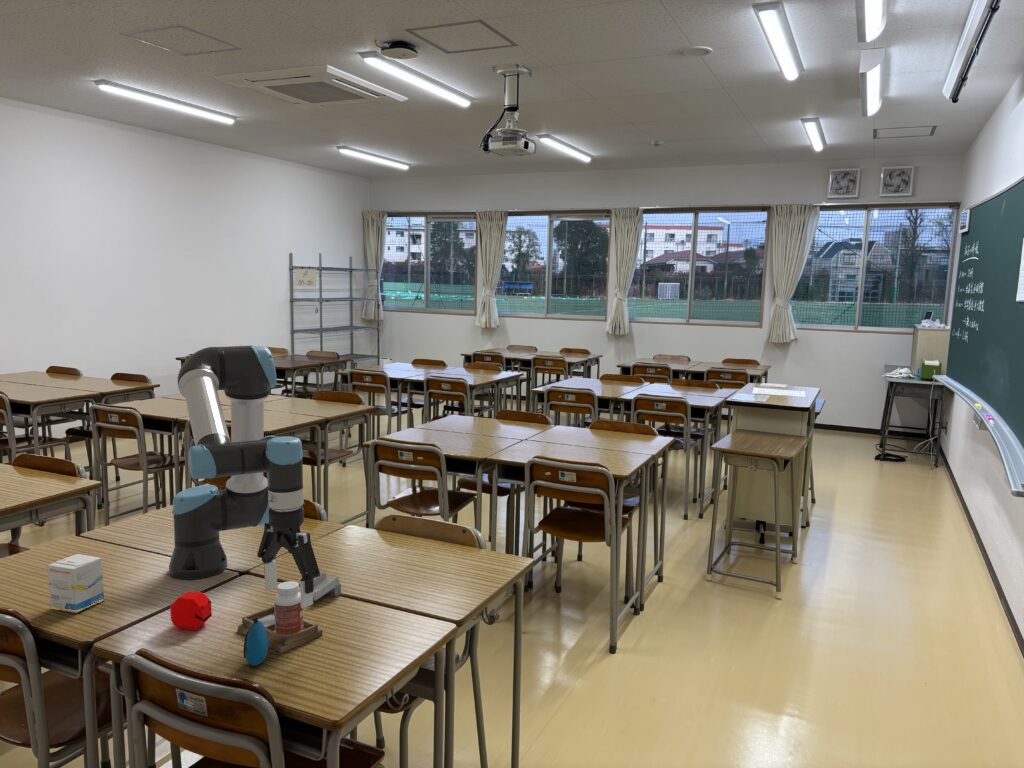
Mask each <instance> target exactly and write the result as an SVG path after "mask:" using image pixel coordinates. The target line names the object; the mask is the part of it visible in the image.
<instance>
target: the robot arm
mask: <svg viewBox="0 0 1024 768" xmlns="http://www.w3.org/2000/svg"><path fill="white" fill-rule="evenodd" d="M275 365H276V364H275V360H274V357H273V355H272V352H271V350H270V349H269V348H268V347H267V346H264V345H252V344H250V345H235V346H233V345H232V346H207V347H204V348H202V349H200V350H197V351H196V352H194V353H193V354H191V355H190V356H189V357H188V358H187V359H185V361H184V362H183V363H182V365H181V366H180V369H179V371H178V375H177V386H178V387H177V388H178V391H179V393H180V394H181V396H182V397H184V398H185V403H186V407H187V413H188V418H189V423H190V429H191V433H192V437H193V442H194V445H192V446H190V447H189V448H188V451H187V459H188V460H187V461H188V463H187V464H188V470H189V471H188V472H189V475H190V477H191V478H192V479H194V480H201V479H202V480H204V479H208V480H209V479H210V480H211V479H213V480H214V479H216V478H217V479H218V478H225V477H230V478H228V480H227V481H226V482H225V489H219V488H218V487H217V485H214V484H207V485H206V484H202V485H201V484H200V485H198V486H197V485H196V486H192V487H189V488H186V489H183V490H182V491H180V492H177V494H175V496H174V497H173V499H172V510H171V513H172V515H173V533H174V534H173V536H174V537H173V539H174V540H173V541H174V548H173V550H172V553H171V554H172V555H171V557H170V561H169V564H168V573H169V576H170V575H171V576H172V578H173V577H174V579H177V578H178V579H179V580H197V579H198V580H199V579H203V578H209V577H213V576H215V575H218V574H220V573H222V572H224V571H225V570H226V569H227V568H228V557H227V556H226V553H225V550H224V548H223V546H222V543H221V541H220V532H221V531H222V532H224V531H230V530H237V529H245V528H252V527H253V528H256V527H258V526H262V525H263V534H262V537H261V541H260V544H259V547H258V551H257V553H256V555H257V558H259V559H261V561H262V563H263V573H264V591H265V592H268V591H271V590H274V589H277V586H278V572H277V569H278V567H277V566H278V564H277V560H275V559H277V557H276V556H277V555H278V553H279V551H280V549H281V548H284V549H285V550H287V552H288V554H291V555H292V558H293V559H294V560H293V561H294V562H295V564H296V567H297V569H298V571H299V573H300V575H301V577H302V578H300V580H299V588H300V589H299V592H300V596H301V608H303V609H304V608H307V607H309V606H312V605H314V600H313V590H314V588H313V587H314V586H313V579H314V578H316V577H319V576H320V574H321V571H320V569H319V565H318V562H317V559H316V556H315V552H314V548H313V546H312V541H311V534H310V532H304V533H302V531H301V528H300V527H301V526H302V524H303V523H304V522H305V512H304V511H305V508H304V506H303V505H304V504H305V502H304V501H305V498H304V494H305V493H304V478H303V477H304V474H303V473H304V471H303V468H304V467H303V465H304V464H303V463H304V462H303V457H304V451H303V444H302V440H301V438H298V437H296V436H295V437H294V436H289V435H288V436H276V435H267V436H264V433H265V431H264V430H265V429H264V428H265V427H264V426H265V425H264V424H265V422H264V420H265V400H266V399H267V398H268V397H269V396H270V394H271V389H273V388H275V387H276V386H277V383H278V381H277V372H276V366H275ZM218 391H224V396H225V397H226V398H227V399H229V400H230V423H231V424H230V429H231V432H230V434H231V435H229V431H228V427H227V423H226V420H225V416H224V415H225V414H224V412H223V409H222V405H221V401H220V398H219V394H218ZM230 437H231V438H230ZM264 473H266V474H267V477H265V476H264ZM171 576H170V577H171Z"/></svg>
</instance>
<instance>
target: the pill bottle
mask: <svg viewBox="0 0 1024 768" xmlns="http://www.w3.org/2000/svg"><path fill="white" fill-rule="evenodd" d="M299 588H300V582H297V581H291V580H290V581H289V580H288V581H283V582H281V583H279V584H277V588H276V591H277V594H276V595H275V597H274V601H273V602H274V603H273V606H274V610H275V632H276V633H277V634H279V635H281V636H283V637H288V636H291V635H293V634H295V633H298V632H300V631H302V630H303V619H304V608H301V596H300V589H299Z"/></svg>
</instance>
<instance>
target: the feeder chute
mask: <svg viewBox="0 0 1024 768" xmlns="http://www.w3.org/2000/svg"><path fill="white" fill-rule="evenodd" d="M313 586H314V587H313V588H314V590H313V601H317V600H319V599H320V598H322V597H324V595H329V596H332V597H333V598H336V597H339V596H341V595H342V584H341V583H340V578H339V576H335V577H333V578H332V577H329V576H327V573H326V571H322V572H320V576H319V577H316V578H314V579H313ZM299 590H300V587H299Z"/></svg>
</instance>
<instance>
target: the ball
mask: <svg viewBox="0 0 1024 768" xmlns="http://www.w3.org/2000/svg"><path fill="white" fill-rule="evenodd" d="M169 609H170V622H171V623H172V625H173V626H174V627H176V628H177V629H178V630H184V631H185V630H186V631H197V630H198V629H199V628H200V627H201V626H203V625H204V624H206V622H207V621H208V620H209V619H210V618H211V617H212V615H213V614H212V611H213V610H212V600H210V598H209V596H207V595H206V594H205V593H204V592H199V591H186V592H184V593H183V594H181V595H180V596H178V597H177V598H176V599H175V600H174V601H173V602H172V603H171V604H170V605H169Z"/></svg>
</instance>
